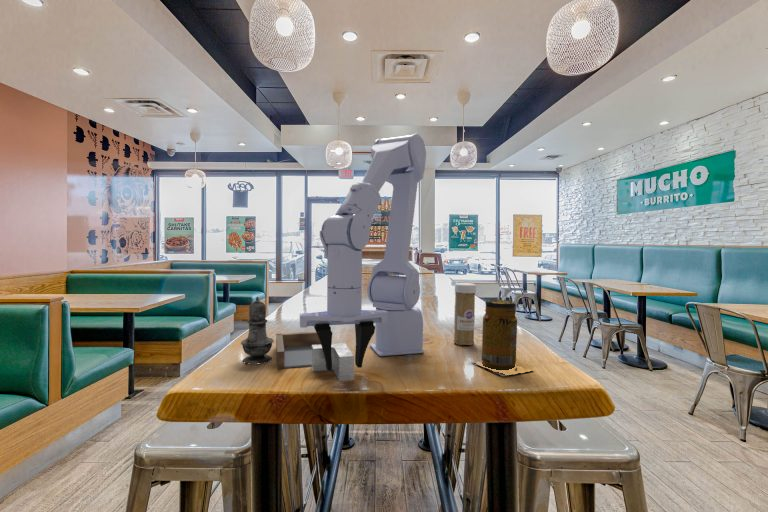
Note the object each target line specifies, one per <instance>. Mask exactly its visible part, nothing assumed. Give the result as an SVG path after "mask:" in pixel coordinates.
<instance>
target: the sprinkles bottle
mask: <svg viewBox="0 0 768 512" xmlns="http://www.w3.org/2000/svg"><path fill="white" fill-rule="evenodd" d="M476 292H477V286H476V284H475V283H472V282H457V283H455V284H454V295H455V299H454V318H453V319H454V321H453V323H454V325H453V326H454V334H453V338H454V339H453V343H454V344H455V343H456V344H455V345H457V344H459V345H458V346H462V345H470V346H473V345H474V344H475V341H474V339H475V335H474V334H475V323H476V322H475V320H476V319H475V317H476V314H475V302H476V301H475V299H476ZM472 344H473V345H472Z"/></svg>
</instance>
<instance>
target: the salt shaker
mask: <svg viewBox="0 0 768 512" xmlns="http://www.w3.org/2000/svg"><path fill="white" fill-rule="evenodd" d="M248 310H249V311H248V314H249V315H248V316H249V317H248V318H249V319H248V320H247V323H248V336H247V338H245V339H243V340H241V341H240V344H241V346H242V350H243V352H244V353H245V354H246V355H247V356H246V357H244V358H243V359H242V363H243V362H245V363H250V364H256V365H258V364H257V363H264V362H267V363H269V362H268V361H270V360H271V361H272V360H273V358H272V356H270V355H269V354H268V353H269V352H270V351H271V349H272V347H273V343H274V342H275V341H274V340H275V339H274V338H271V337H269V336H268V334H267V322H268V319H266V304H265V303H264V302H263V301H260V297H258V296H256V297H255V300H254V301H253V302H252V303H250V304H249V307H248ZM271 361H270V362H271ZM245 363H244V364H245ZM250 364H249V365H250ZM264 364H265V363H264Z"/></svg>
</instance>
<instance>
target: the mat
mask: <svg viewBox="0 0 768 512" xmlns="http://www.w3.org/2000/svg"><path fill="white" fill-rule="evenodd" d="M293 367H294V368H304V367H312V346H302V347H286V348H284V368H283V369H291V368H293Z"/></svg>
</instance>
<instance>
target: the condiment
mask: <svg viewBox="0 0 768 512" xmlns="http://www.w3.org/2000/svg"><path fill="white" fill-rule="evenodd" d="M516 308H517V305H516V303H515V302H514V301H511V300H504V299H489V300H487V301H485V309H484V311H485V314H484V315H483V317H482V334H481V335H482V339H481V341H482V343H481V361H482V364H483V366H485V367H488V368H491V369H496V370H509V369H512V368H514V367H515V364H517V338H518V336H517V335H518V334H517V333H518V327H517V326H518V319H517V317H516ZM478 361H479V360H476V361H470V363H471V364H474V363H476V362H478ZM474 365H475V366H477V365H476V364H474ZM489 371H490V372H492V370H489ZM492 373H493V374H495V375H500V376H501V377H510V376H509V375H505V374H503V373H499V372H492Z"/></svg>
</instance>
